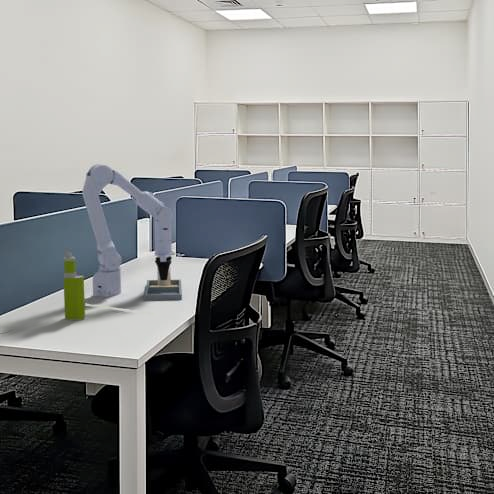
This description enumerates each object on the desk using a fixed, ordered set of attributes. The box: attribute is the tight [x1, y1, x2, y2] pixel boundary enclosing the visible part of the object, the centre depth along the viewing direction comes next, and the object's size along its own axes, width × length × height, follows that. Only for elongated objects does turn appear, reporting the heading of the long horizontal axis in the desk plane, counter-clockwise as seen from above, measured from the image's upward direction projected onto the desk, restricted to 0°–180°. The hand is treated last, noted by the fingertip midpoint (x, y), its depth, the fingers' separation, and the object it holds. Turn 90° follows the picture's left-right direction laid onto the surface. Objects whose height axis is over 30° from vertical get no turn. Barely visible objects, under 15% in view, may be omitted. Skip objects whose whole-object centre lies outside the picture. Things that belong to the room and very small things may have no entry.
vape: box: [62, 250, 86, 321], centre depth 201 cm, size 4×6×20 cm, turn 81°
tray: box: [144, 279, 183, 301], centre depth 234 cm, size 24×12×2 cm, turn 6°
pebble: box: [156, 266, 172, 286], centre depth 239 cm, size 5×5×6 cm
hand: (163, 278), depth 239 cm, fingers closed on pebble, 4 cm apart
